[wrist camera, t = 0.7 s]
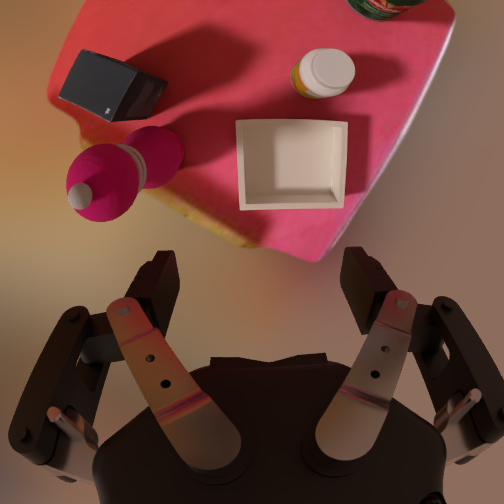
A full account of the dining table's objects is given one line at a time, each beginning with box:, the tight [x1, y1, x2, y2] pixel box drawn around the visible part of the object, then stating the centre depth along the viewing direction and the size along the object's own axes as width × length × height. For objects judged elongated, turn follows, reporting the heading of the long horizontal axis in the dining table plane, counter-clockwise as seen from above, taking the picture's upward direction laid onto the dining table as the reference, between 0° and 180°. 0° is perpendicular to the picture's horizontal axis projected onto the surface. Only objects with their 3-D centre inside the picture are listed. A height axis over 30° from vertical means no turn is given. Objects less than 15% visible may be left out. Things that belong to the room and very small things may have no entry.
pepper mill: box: [66, 126, 184, 222], centre depth 23 cm, size 7×7×20 cm
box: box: [59, 49, 168, 122], centre depth 23 cm, size 8×6×11 cm
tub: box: [235, 119, 348, 210], centre depth 31 cm, size 10×12×4 cm
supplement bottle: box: [290, 48, 355, 99], centre depth 24 cm, size 5×5×10 cm
